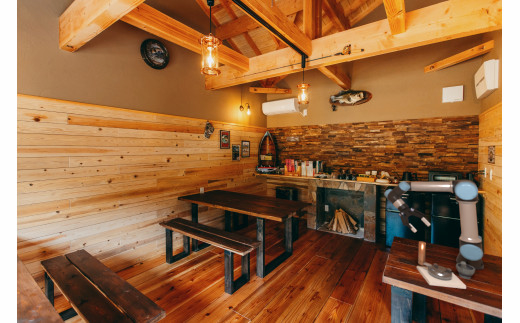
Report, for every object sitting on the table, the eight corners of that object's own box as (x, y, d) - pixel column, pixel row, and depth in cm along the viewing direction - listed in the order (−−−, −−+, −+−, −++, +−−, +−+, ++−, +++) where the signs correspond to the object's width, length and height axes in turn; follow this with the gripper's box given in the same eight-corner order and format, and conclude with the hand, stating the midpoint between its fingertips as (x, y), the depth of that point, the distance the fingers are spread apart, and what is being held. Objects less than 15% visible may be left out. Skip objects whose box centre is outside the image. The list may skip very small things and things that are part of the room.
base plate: (448, 271, 165) (448, 268, 164) (465, 288, 145) (466, 285, 145) (416, 268, 169) (416, 265, 169) (429, 284, 150) (429, 281, 150)
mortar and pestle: (458, 270, 165) (459, 254, 164) (476, 277, 157) (477, 260, 156) (453, 276, 159) (453, 259, 158) (470, 283, 151) (471, 265, 150)
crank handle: (455, 276, 155) (456, 249, 154) (447, 282, 148) (448, 254, 147) (422, 263, 172) (423, 239, 170) (413, 269, 165) (414, 243, 163)
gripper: (410, 203, 192) (432, 225, 178) (386, 213, 186) (407, 236, 172) (415, 198, 187) (437, 220, 173) (390, 208, 180) (412, 232, 167)
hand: (422, 228), depth 173 cm, fingers open, 13 cm apart
